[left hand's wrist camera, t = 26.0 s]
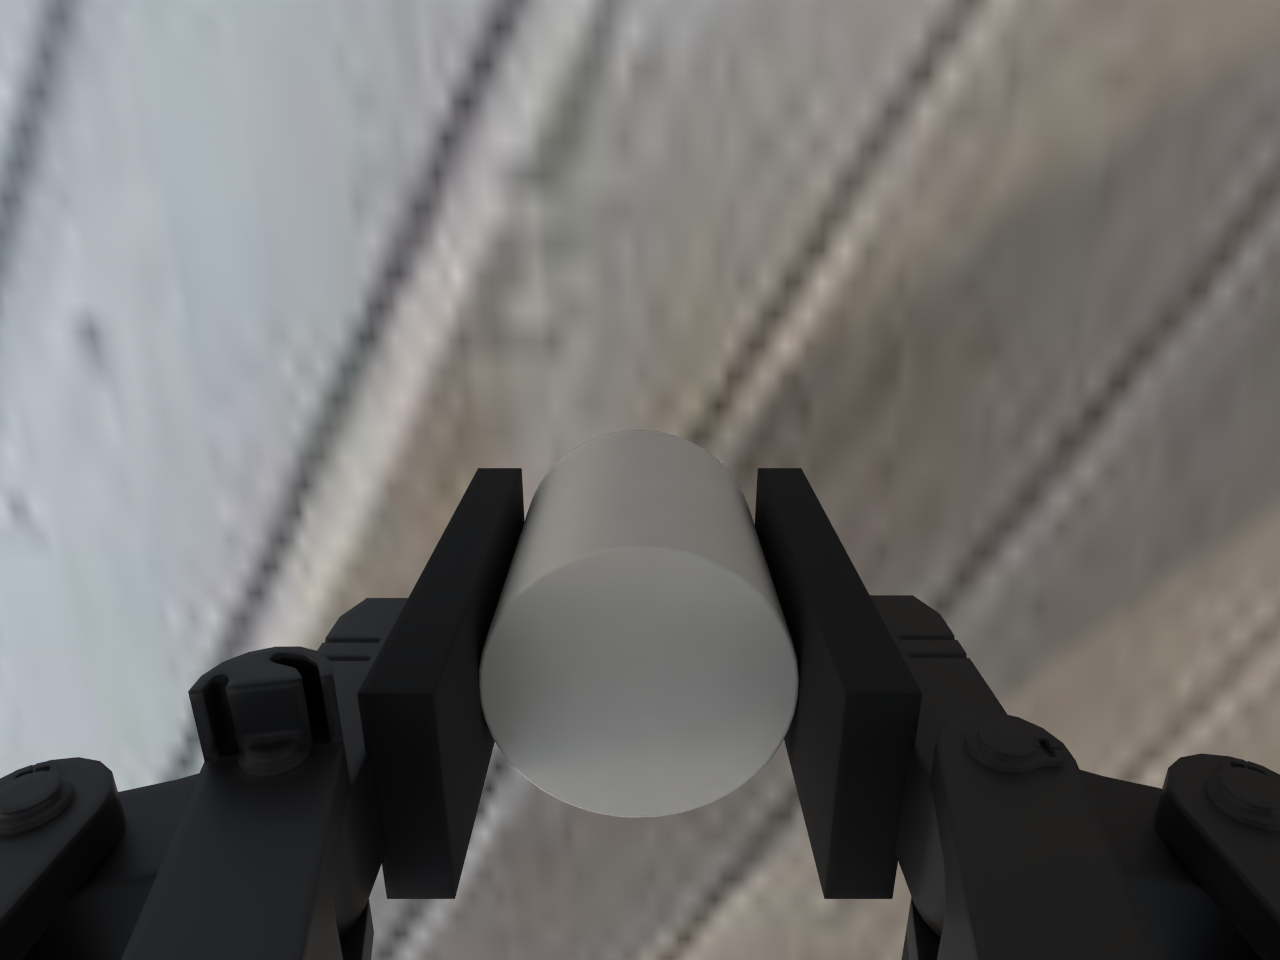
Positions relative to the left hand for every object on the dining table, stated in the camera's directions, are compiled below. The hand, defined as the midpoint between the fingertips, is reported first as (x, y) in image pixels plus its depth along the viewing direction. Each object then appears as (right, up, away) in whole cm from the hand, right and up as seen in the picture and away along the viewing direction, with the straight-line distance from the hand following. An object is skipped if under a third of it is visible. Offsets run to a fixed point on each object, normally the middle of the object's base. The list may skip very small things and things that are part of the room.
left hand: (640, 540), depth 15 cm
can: (0, 0, 0) cm, 0 cm away
